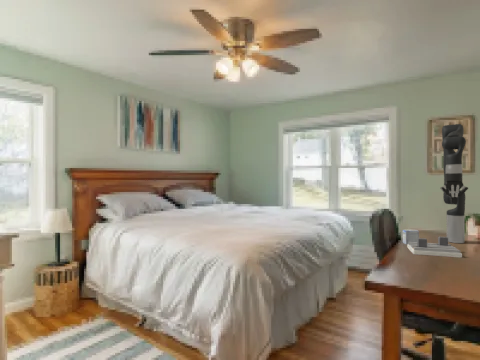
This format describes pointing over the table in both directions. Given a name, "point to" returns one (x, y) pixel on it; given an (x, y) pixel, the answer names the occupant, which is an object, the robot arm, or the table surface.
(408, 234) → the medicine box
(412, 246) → the switch board
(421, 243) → the grey slider block
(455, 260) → the table surface
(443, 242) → the inner tab
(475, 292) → the table surface
